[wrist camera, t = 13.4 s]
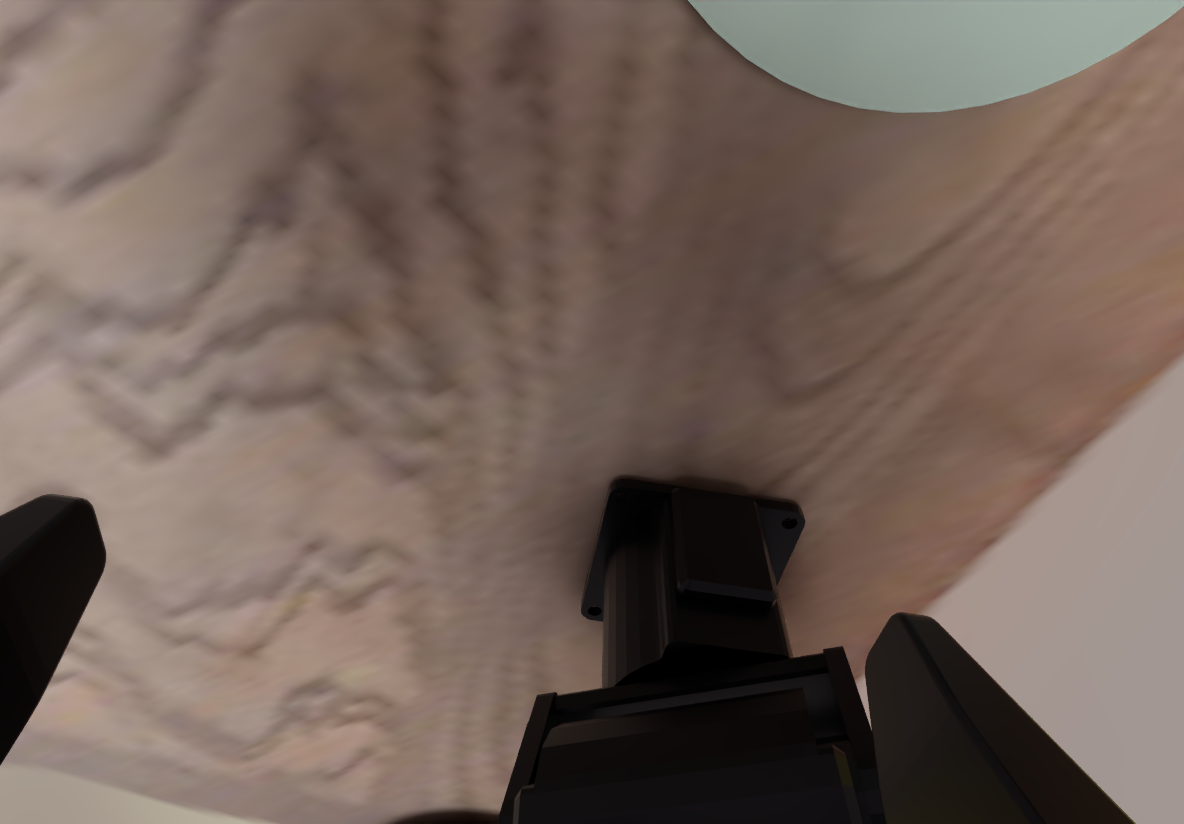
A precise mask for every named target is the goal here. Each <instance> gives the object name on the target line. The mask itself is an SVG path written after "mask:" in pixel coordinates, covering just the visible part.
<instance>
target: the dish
mask: <svg viewBox="0 0 1184 824" xmlns="http://www.w3.org/2000/svg"><path fill="white" fill-rule="evenodd" d="M688 1H689V2H690V3H691V5H692V6H693V7H694V8H695V9H696V10H697V11H698V13H699V14H700V15H701V16H702V17H703V18H704V20H705V21H706V22H707V23H708V24H709V25H710V26H711V28H712V29H713V30H714V31H715V32H716V33H717V34H718V35H720V36H721V37H722V38H723V39H724V40H725V41H726V42H728V43H729V44H730V45H731V46H732V47H733V48H735V49H736V50H737V51H738V52H739V53H740V54H742V55H743V56H744V57H745V58H746V59H747V60H749V61H751V62H752V63H754V64H755V65H757V66H758V67H760V68H762V69H763V70H765V71H766V72H768V73H770V74H771V75H773V76H774V77H776V78H777V79H779V80H781V81H782V82H785V83H787V84H789V85H791V86H794V87H796V88H798V89H801V90H803V91H805V92H807V93H810V94H812V95H814V96H816V97H819V98H822V99H826V100H830V101H834V102H837V103H841V104H845V105H848V106H852V107H856V108H862V109H870V110H879V111H887V112H895V113H916V112H944V111H950V110H957V109H964V108H970V107H977V106H983V105H987V104H991V103H994V102H998V101H1002V100H1005V99H1009V98H1012V97H1016V96H1020V95H1023V94H1027V93H1030V92H1032V91H1035V90H1037V89H1040V88H1042V87H1045V86H1047V85H1050V84H1052V83H1055V82H1057V81H1060V80H1062V79H1065V78H1067V77H1070V76H1072V75H1074V74H1076V73H1078V72H1080V71H1082V70H1084V69H1086V68H1088V67H1090V66H1091V65H1093V64H1095V63H1097V62H1099V61H1101V60H1103V59H1105V58H1107V57H1109V56H1110V55H1112V54H1114V53H1116V52H1118V51H1120V50H1121V49H1123V48H1124V47H1126V46H1127V45H1129V44H1131V43H1132V42H1134V41H1135V40H1137V39H1138V38H1140V37H1141V36H1143V35H1144V34H1146V33H1147V32H1149V31H1150V30H1152V29H1153V28H1155V27H1156V26H1158V25H1159V24H1161V23H1162V22H1164V21H1165V20H1167V19H1168V18H1169V17H1171V16H1172V15H1173V14H1174V13H1176V12H1177V11H1178V10H1179V9H1181V8H1182V7H1183V6H1184V0H688Z"/></svg>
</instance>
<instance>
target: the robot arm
mask: <svg viewBox="0 0 1184 824" xmlns="http://www.w3.org/2000/svg"><path fill="white" fill-rule="evenodd" d="M620 493H627V494H630V495H628V496H623V497H622V496H620V495H618V494H620ZM786 518H793V519H791V520H789V521H784V519H786ZM804 525H805V519H804V515H803V512H802V510H801V508H800V507H799V506H797V505H794V504H790V503H783V502H776V501H770V500H763V499H756V498H750V497H743V496H736V495H730V494H723V493H717V492H710V491H703V490H697V489H690V488H683V487H677V486H670V485H663V484H657V483H650V482H643V481H637V480H630V479H619V480H616V481H614V482H613V483H612V484H611V485H610V487H609V490H608V494H607V498H606V502H605V506H604V510H603V514H602V518H601V523H600V527H599V531H598V535H597V539H596V543H595V547H594V551H593V555H592V560H591V564H590V568H589V572H588V576H587V580H586V584H585V588H584V593H583V597H582V601H581V613H582V615H583V616H584V617H586V618H587V619H590V620H596V621H603V655H602V688H599V689H593V690H587V691H581V692H574V693H568V694H562V695H558V694H557V693H556V692H553V693H547V694H541V695H537V697H536V700H535V703H534V707H533V710H532V713H531V716H530V719H529V722H528V724H527V727H526V730H525V733H524V737H523V740H522V743H521V746H520V749H519V753H518V756H517V759H516V762H515V766H514V769H513V772H512V775H511V778H510V782H509V785H508V788H507V791H506V795H505V798H504V801H503V804H502V807H501V811H500V814H499V817H498V820H497V824H1135V822H1133V820H1132V819H1131V818H1130V817H1129V816H1128V815H1127V814H1126V813H1125V812H1124V811H1123V810H1122V809H1121V808H1120V807H1119V806H1118V805H1117V804H1116V803H1115V802H1114V801H1113V800H1112V799H1111V798H1110V797H1109V796H1108V795H1107V794H1106V793H1105V792H1104V791H1103V790H1102V789H1101V788H1100V787H1099V786H1098V785H1097V784H1096V783H1095V782H1094V781H1093V780H1092V779H1091V778H1090V777H1089V776H1088V775H1087V774H1086V773H1085V772H1084V771H1083V770H1082V769H1081V768H1080V767H1079V766H1078V764H1076V762H1075V761H1074V760H1073V759H1072V758H1071V757H1070V756H1069V755H1068V754H1067V753H1066V752H1065V751H1064V750H1063V749H1061V747H1060V746H1059V745H1058V744H1057V743H1056V742H1055V741H1054V740H1053V739H1051V737H1050V736H1049V735H1048V734H1047V733H1046V732H1045V731H1044V730H1043V729H1042V728H1041V727H1040V726H1039V725H1038V724H1037V723H1036V722H1035V721H1034V720H1033V719H1032V718H1031V717H1030V716H1029V715H1028V714H1027V713H1026V712H1025V711H1024V710H1023V709H1022V708H1021V707H1020V706H1019V705H1018V703H1016V702H1015V701H1014V699H1013V698H1012V697H1010V695H1008V693H1007V692H1006V691H1005V690H1004V689H1003V688H1001V686H1000V685H999V684H998V683H997V682H996V681H995V680H994V679H993V678H992V677H991V676H990V675H989V674H988V673H987V672H986V671H985V670H984V669H983V668H982V667H981V666H980V665H979V664H978V663H977V662H976V661H975V660H974V659H973V658H972V657H971V656H970V655H969V654H968V653H967V652H966V651H965V650H964V649H963V648H962V647H961V646H960V645H959V644H958V642H956V640H955V639H954V638H953V637H952V636H951V635H949V633H948V632H947V631H946V630H945V629H944V628H943V627H942V626H941V625H940V624H939V623H938V622H936V621H935V620H934V619H932V618H931V617H928V616H924V615H917V614H910V613H902V612H900V613H896V614H894V615H893V616H891V618H890V619H889V620H888V622H887V624H886V625H885V627H884V629H883V630H882V632H881V634H880V635H879V637H878V639H877V640H876V642H875V644H874V645H873V647H872V649H871V650H870V652H869V654H868V656H867V660H866V665H865V678H866V686H867V694H868V702H869V711H870V719H871V727H872V730H871V727H870V725H869V722H868V719H867V716H866V713H865V710H864V707H863V704H862V701H861V698H860V695H859V692H858V689H857V686H856V683H855V681H854V678H853V675H852V672H851V669H850V666H849V663H848V660H847V657H846V654H845V651H844V648H843V646H841V647H835V648H828V649H823V653H819V654H813V655H807V656H800V657H794V658H793V655H792V650H791V646H790V642H789V637H788V633H787V628H786V624H785V619H784V615H783V611H782V606H781V602H780V597H779V593H778V589H777V584H778V582H779V580H780V578H781V576H782V574H783V571H784V569H785V567H786V565H787V563H788V560H789V558H790V556H791V554H792V552H793V549H794V547H795V545H796V543H797V541H798V539H799V536H800V534H801V532H802V530H803V528H804ZM105 563H106V549H105V546H104V542H103V539H102V535H101V532H100V528H99V525H98V521H97V518H96V514H95V511H94V508H93V505H92V504H91V503H90V502H89V501H88V500H86V499H83V498H78V497H71V496H64V495H56V494H47V495H43V496H40V497H38V498H35V499H33V500H31V501H29V502H27V503H25V504H23V505H21V506H19V507H17V508H15V509H13V510H11V511H9V512H7V513H5V514H3V515H1V516H0V765H1V764H2V762H3V760H4V759H5V757H6V756H7V754H8V752H9V751H10V749H11V748H12V746H13V744H14V743H15V741H16V740H17V738H18V736H19V735H20V733H21V732H22V730H23V728H24V727H25V725H26V724H27V722H28V720H29V718H30V717H31V715H32V713H33V712H34V710H35V708H36V707H37V705H38V703H39V701H40V700H41V698H42V696H43V694H44V692H45V690H46V688H47V686H48V684H49V682H50V680H51V678H52V676H53V674H54V672H55V670H56V668H57V666H58V664H59V662H60V660H61V658H62V656H63V654H64V652H65V650H66V648H67V646H68V644H69V641H70V639H71V637H72V635H73V633H74V631H75V629H76V627H77V625H78V623H79V621H80V619H81V617H82V615H83V613H84V611H85V609H86V607H87V605H88V602H89V600H90V598H91V596H92V594H93V592H94V590H95V588H96V586H97V584H98V582H99V580H100V578H101V576H102V573H103V571H104V567H105ZM593 606H596V607H593Z"/></svg>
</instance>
